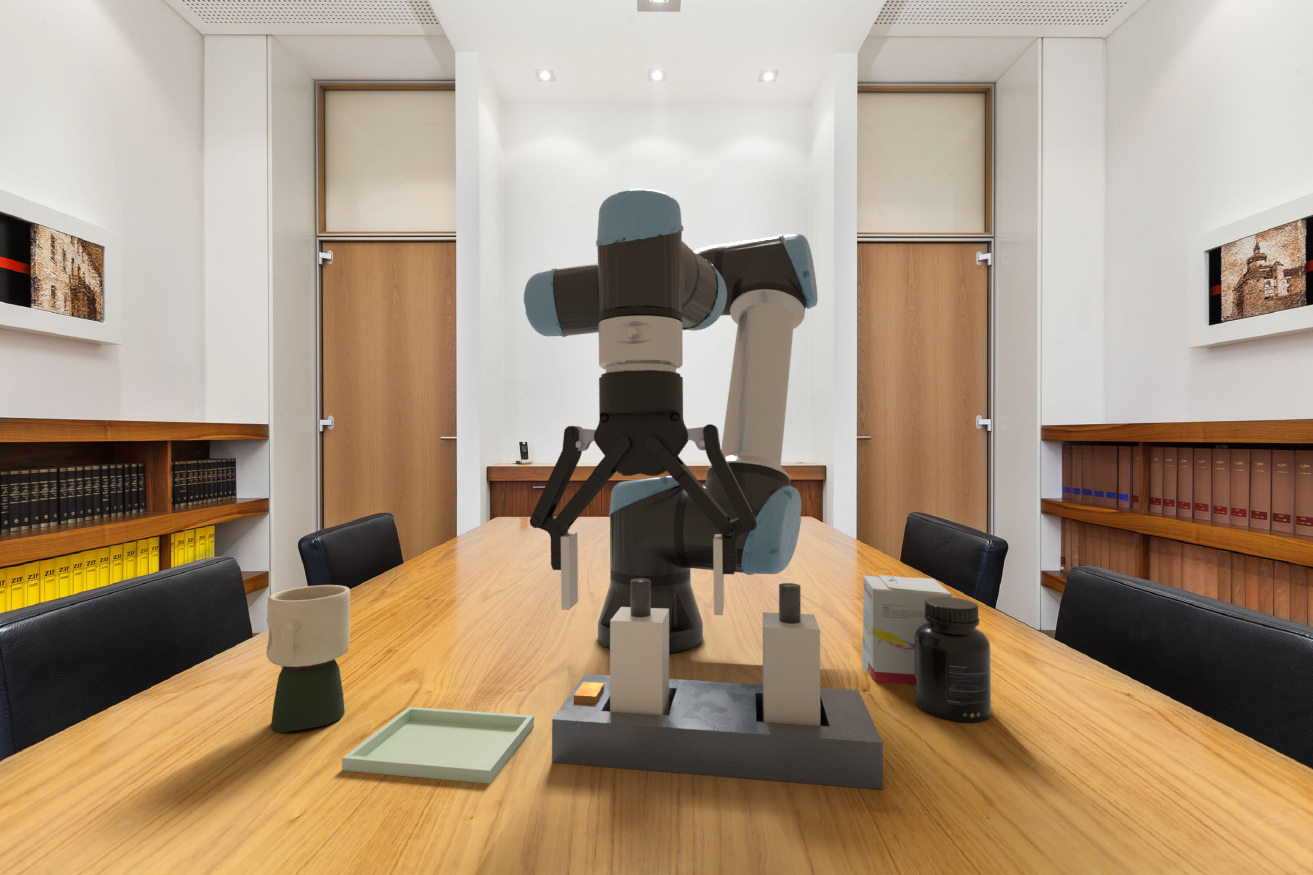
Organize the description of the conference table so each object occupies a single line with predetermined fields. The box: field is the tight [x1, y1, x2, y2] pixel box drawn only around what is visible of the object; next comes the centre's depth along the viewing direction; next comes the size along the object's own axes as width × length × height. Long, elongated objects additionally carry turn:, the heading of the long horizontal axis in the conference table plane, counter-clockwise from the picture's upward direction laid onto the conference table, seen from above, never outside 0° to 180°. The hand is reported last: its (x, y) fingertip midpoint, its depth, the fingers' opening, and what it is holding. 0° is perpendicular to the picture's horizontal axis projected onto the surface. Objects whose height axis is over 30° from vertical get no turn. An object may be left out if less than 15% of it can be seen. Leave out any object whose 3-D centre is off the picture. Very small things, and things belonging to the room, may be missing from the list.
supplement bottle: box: [914, 596, 992, 724], centre depth 60 cm, size 7×7×12 cm
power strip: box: [551, 673, 884, 791], centre depth 52 cm, size 10×26×6 cm, turn 81°
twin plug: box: [762, 582, 821, 726], centre depth 51 cm, size 4×4×14 cm
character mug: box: [265, 584, 351, 734], centre depth 59 cm, size 11×7×13 cm, turn 9°
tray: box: [341, 706, 535, 785], centre depth 54 cm, size 10×13×2 cm
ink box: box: [861, 574, 953, 685], centre depth 70 cm, size 9×9×12 cm
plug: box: [609, 578, 670, 716], centre depth 53 cm, size 4×4×14 cm
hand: (643, 608), depth 54 cm, fingers open, 13 cm apart
